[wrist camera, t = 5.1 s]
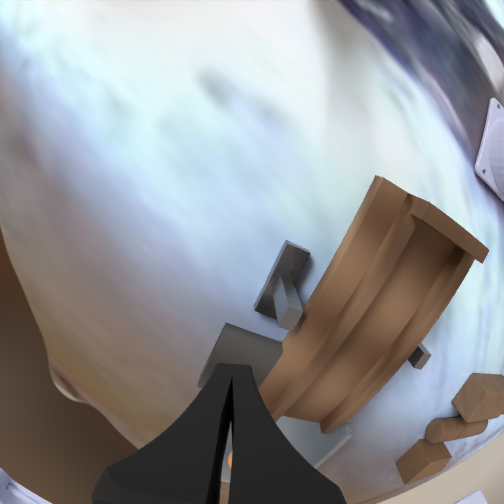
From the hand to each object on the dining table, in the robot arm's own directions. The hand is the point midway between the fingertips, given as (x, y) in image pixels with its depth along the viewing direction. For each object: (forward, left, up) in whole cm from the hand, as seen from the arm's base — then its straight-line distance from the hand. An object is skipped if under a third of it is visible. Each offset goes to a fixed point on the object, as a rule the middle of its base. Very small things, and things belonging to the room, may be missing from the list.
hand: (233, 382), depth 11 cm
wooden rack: (-5, -2, -5) cm, 7 cm away
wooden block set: (-37, +8, -10) cm, 39 cm away
